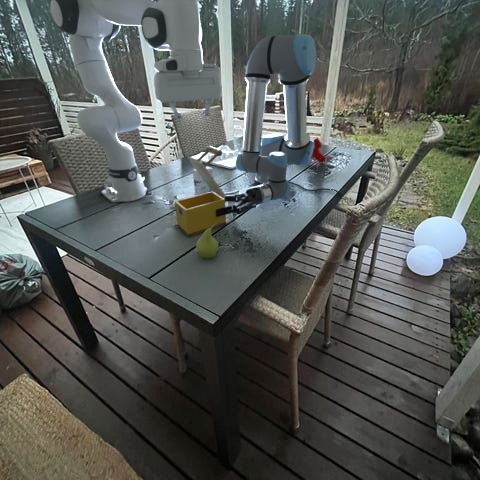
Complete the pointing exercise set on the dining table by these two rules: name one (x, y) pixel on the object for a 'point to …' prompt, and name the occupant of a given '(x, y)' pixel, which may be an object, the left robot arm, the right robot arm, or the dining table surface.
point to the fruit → (207, 244)
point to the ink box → (201, 182)
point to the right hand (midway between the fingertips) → (210, 208)
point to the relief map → (221, 157)
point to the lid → (204, 173)
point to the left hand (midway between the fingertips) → (192, 117)
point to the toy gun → (316, 152)
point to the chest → (199, 213)
